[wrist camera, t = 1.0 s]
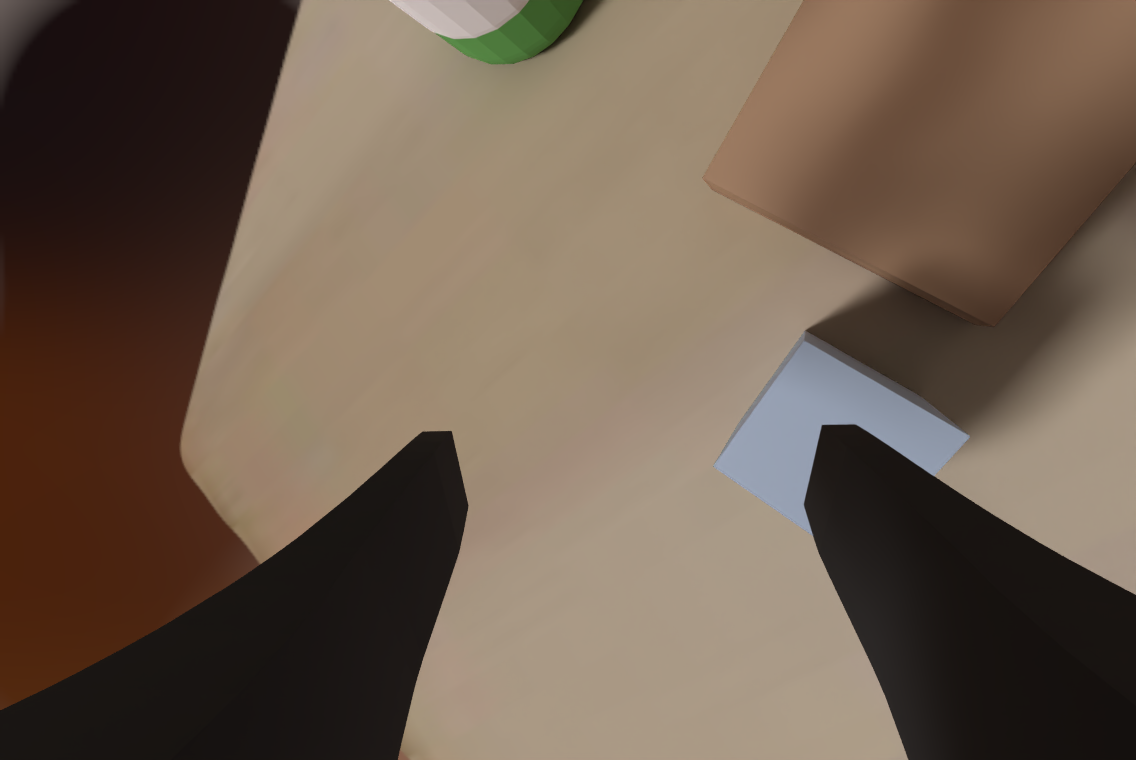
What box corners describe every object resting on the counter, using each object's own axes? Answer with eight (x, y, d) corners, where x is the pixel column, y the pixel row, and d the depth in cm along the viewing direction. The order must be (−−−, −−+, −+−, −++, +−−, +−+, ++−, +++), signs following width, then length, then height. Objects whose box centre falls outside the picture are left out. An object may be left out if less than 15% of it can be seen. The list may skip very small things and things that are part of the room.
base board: (1251, -3, 13) (1319, -51, 12) (974, 324, 17) (994, 326, 15) (884, -108, 16) (894, -159, 14) (711, 189, 20) (702, 177, 18)
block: (920, 396, 18) (970, 436, 12) (840, 491, 19) (852, 563, 14) (805, 330, 19) (804, 340, 14) (737, 423, 20) (712, 466, 15)
